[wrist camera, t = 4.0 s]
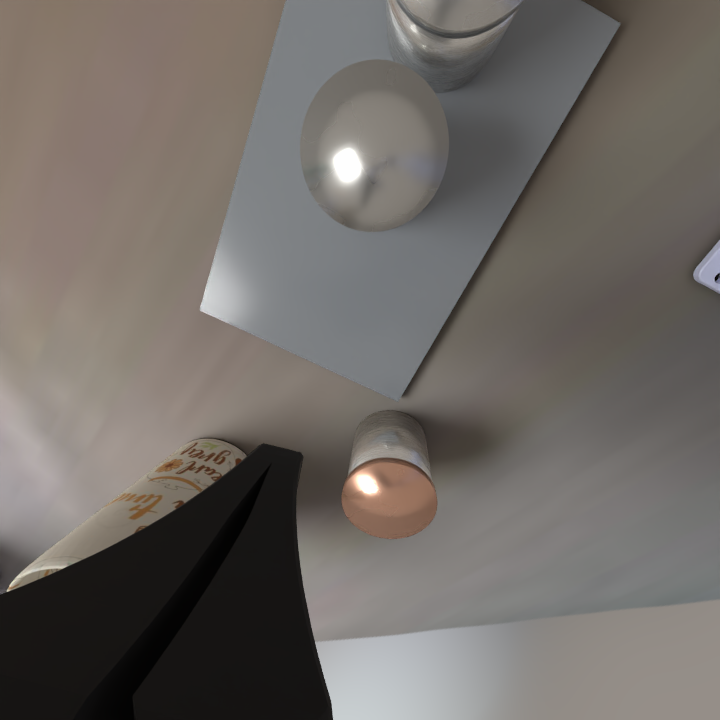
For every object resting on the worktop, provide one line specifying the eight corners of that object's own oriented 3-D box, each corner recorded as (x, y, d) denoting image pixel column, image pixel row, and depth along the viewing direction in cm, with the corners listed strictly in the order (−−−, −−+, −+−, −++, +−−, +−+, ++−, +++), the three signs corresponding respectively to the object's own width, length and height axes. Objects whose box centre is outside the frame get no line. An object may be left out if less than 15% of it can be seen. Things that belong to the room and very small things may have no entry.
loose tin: (441, 428, 20) (455, 489, 16) (405, 481, 22) (408, 551, 17) (372, 396, 20) (365, 449, 15) (341, 453, 22) (326, 516, 17)
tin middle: (450, 145, 15) (478, 107, 10) (400, 247, 16) (404, 256, 12) (354, 92, 14) (334, 26, 9) (313, 202, 16) (279, 193, 11)
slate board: (611, 31, 13) (621, 23, 13) (397, 396, 20) (398, 401, 19) (330, -133, 12) (327, -150, 12) (205, 307, 19) (199, 310, 18)
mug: (301, 483, 23) (239, 657, 14) (192, 560, 27) (86, 736, 18) (207, 398, 21) (62, 533, 12) (104, 494, 25) (-65, 651, 16)
